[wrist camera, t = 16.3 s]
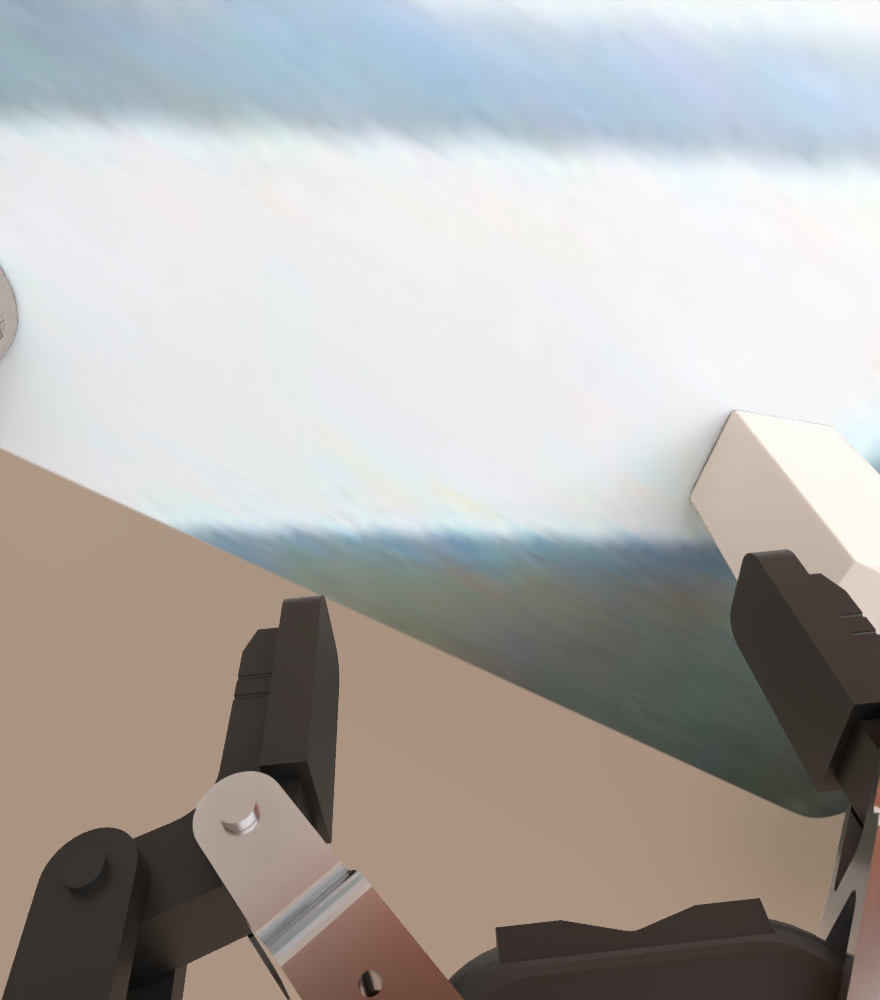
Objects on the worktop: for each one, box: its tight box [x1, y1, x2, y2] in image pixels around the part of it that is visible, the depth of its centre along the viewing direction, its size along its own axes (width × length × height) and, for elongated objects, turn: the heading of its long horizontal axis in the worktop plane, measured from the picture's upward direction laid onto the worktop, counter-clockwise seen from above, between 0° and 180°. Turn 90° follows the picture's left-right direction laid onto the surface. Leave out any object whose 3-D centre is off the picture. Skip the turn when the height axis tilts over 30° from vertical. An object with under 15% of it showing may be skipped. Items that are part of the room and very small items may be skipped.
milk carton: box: [690, 410, 880, 634], centre depth 41 cm, size 7×7×19 cm
